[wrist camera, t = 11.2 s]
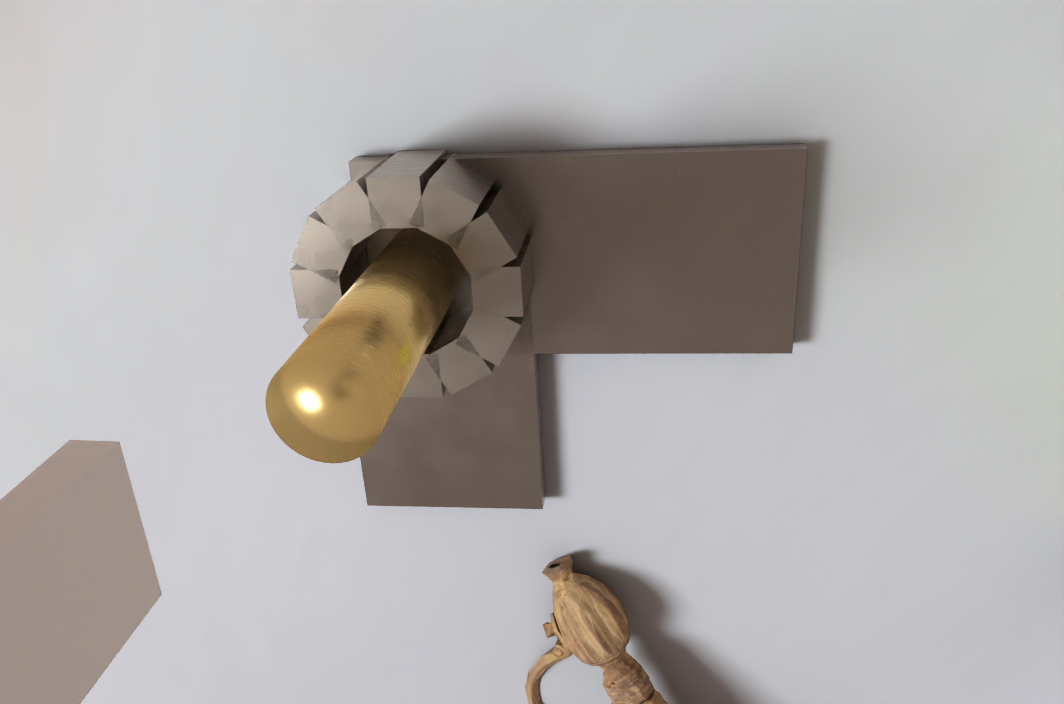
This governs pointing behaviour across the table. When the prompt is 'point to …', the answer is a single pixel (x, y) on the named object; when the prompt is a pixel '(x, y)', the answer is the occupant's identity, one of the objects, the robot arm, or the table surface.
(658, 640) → the table surface
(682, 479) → the table surface
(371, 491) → the hinge
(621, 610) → the sword hilt
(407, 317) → the pin
